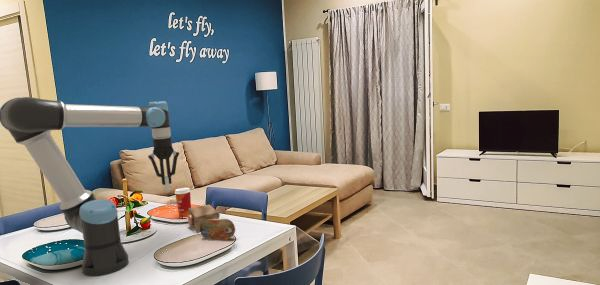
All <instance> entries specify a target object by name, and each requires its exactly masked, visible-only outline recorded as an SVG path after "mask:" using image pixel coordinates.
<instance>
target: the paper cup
mask: <svg viewBox="0 0 600 285" xmlns="http://www.w3.org/2000/svg"><path fill="white" fill-rule="evenodd" d="M191 192H192V191H191V189H190V187H181V188H176V189H175V190H174V194H175V199H176V206H177V210H178V216H179V218H180V217H182V218H183V217H187V215H188V214H189V210H188V208H192V204H191V203H192V202H191V201H192V200H191Z"/></svg>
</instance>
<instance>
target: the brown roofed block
mask: <svg viewBox="0 0 600 285" xmlns="http://www.w3.org/2000/svg"><path fill="white" fill-rule="evenodd" d="M216 211H217V212H218V214H219V218H220V217H221V216H220V215H221V214H220V211H219V210H216ZM187 217H188V218H187V222H188V226H189V227H193V226H192V225H194V221H193V216H192V214H188V215H187Z"/></svg>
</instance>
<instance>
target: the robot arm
mask: <svg viewBox="0 0 600 285" xmlns="http://www.w3.org/2000/svg"><path fill="white" fill-rule="evenodd" d="M169 113H170V111H169V106H168V102H167V101H164V100H163V101H150V102H148V106H125V105H124V106H121V105H100V104H99V105H98V104H97V105H95V104H71V103H70V104H69V103H67V104H66V103H64V102H63V101H62V100H52V99H44V98H43V99H42V98H38V97H37V98H36V97H33V96H32V97H31V96H25V97H24V96H22V97H15V98H11V99H8V100H7V101H6V102H4V103H3V104H2V106H1V107H0V124H1V126H2V127H3V128H4V129H6V131H8V132H9V133H10V135H11V136H12V137H13V139H14V141H15V142H16V144H18V145H23V146H24V147H25V148H26V150H27V151H28V153H29V154H30V156H31V157H32V159H33V160H34V162H35V164H36V165H37V167H38V169H39V170H40V171H41V173H42V174H43V176H44V178H46V181H47V182H48V183H49V185H50V186H51V189H52V190H53V191H54V193H55V194H56V195H57V198H58V199H59V201H60V205H59V209H60V211H61V212H62V213H63V216H64V220H65V222H66V224H67V225H68V226H69V227H70V228H71V229H73V230H74V231H78V232H79V233H81V234H82V239H83V245H84V254H83V259H82V263H81V271H82V274H83V275H86V276H91V277H93V276H94V277H95V276H104V275H108V274H111V273H115V272H117V271H120V270H121V269H123V268H125V267H126V266H128V264H129V262H130V261H129V254H128V253H127V251H126V250H125V247H124V245H123V244H122V240H121V233H120V224H119V216H118V214H119V213H118V210H117V209H118V208H117V205H116V203H115V202H114V201H112V200H109V199H97V198H96V196H95V195H94V194H93V192H92V191H91V190H88V189H85V187H84V186H83V184H82V183H81V180H80V179H79V178H78V176H77V174H76V173H75V171H74V170H73V168H72V166H71V165H70V163H69V162H68V160H67V159H66V157H65V155H64V154H63V151H61V149H60V147H59V145H58V143H57V142H56V141H55V139H54V137H53V136H52V133H51V132H52V131H62V130H63V129H65V128H151V135H152V136H151V137H152V138H153V139H152V145H153V146H152V147H153V150H152V153H151V154H148V156H147V157H148V159H149V160H150V161H151V164H152V167H153V169H154V171H155V175H156V177H158V178H161V184H162V185H163V186H164V190H165V193H170V192H171V189H170V185H171V184H172V176H174V175H175V174H176V170H177V162H178V158H179V156H180V152H179V151H176V150H175V149H174V147H173V143H172V137H171V136H172V135H171V134H172V133H171V124H170V114H169ZM172 155H173V159H172V163H171V164H172V165H171V164H170V158H171V157H172ZM155 157H156V158H157V159H158V161H159V168H158V166H157V163H156V161H155ZM164 160H165V164H164ZM164 165H165V166H166V174H167V176H165V166H164ZM159 169H160V171H159Z"/></svg>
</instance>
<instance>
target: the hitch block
mask: <svg viewBox="0 0 600 285" xmlns="http://www.w3.org/2000/svg"><path fill="white" fill-rule="evenodd" d="M188 210H189V214H192V216H193V221H194V225H192V226H191V227H192V228H193V230H195V231H196V233H201V232H200V225H201V223H202V222H203V221H205V220H207V219H220V217H219V214H220V213H219V214H218V212H217V211H218V210H216V209H215V208H214V207H213V206H212V205H211V204H204V205H199V206H193V207H191V208H188Z"/></svg>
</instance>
